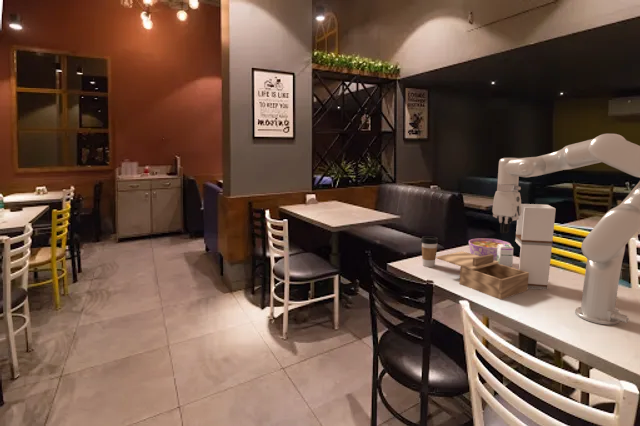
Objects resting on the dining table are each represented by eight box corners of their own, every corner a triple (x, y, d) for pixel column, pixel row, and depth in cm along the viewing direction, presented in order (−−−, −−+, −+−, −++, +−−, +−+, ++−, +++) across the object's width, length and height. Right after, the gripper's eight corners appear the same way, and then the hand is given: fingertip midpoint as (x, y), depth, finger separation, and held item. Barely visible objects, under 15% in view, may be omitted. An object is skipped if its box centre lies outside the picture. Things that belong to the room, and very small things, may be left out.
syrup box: (511, 277, 171) (514, 247, 169) (498, 276, 173) (500, 246, 170) (508, 273, 177) (510, 244, 174) (495, 272, 178) (497, 243, 176)
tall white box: (539, 281, 167) (547, 204, 161) (547, 289, 157) (555, 208, 150) (512, 278, 170) (518, 203, 164) (517, 287, 160) (524, 207, 154)
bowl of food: (468, 268, 184) (470, 246, 182) (465, 257, 203) (467, 237, 201) (513, 272, 178) (515, 249, 176) (505, 260, 197) (507, 239, 195)
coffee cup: (416, 264, 192) (417, 236, 190) (429, 262, 196) (430, 234, 193) (427, 268, 185) (428, 239, 182) (440, 266, 188) (442, 237, 186)
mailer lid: (498, 263, 166) (499, 254, 165) (472, 270, 157) (472, 260, 157) (462, 252, 183) (462, 244, 183) (436, 258, 174) (436, 249, 174)
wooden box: (527, 290, 156) (528, 272, 154) (500, 299, 147) (502, 280, 146) (485, 276, 173) (486, 260, 171) (459, 283, 164) (460, 266, 163)
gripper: (531, 189, 145) (527, 234, 148) (496, 186, 158) (493, 228, 161) (519, 190, 141) (516, 237, 144) (485, 187, 154) (482, 230, 157)
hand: (504, 232), depth 153 cm, fingers closed
